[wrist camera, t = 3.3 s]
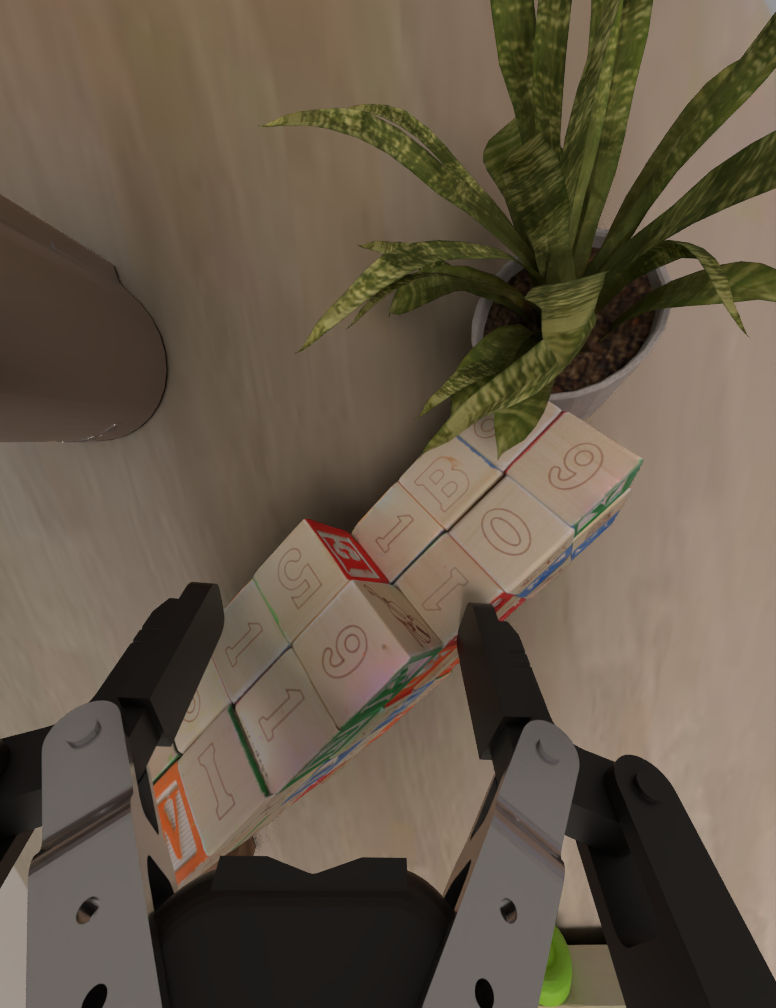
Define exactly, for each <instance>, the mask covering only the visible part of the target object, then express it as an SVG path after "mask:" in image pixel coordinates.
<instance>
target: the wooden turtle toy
mask: <svg viewBox="0 0 776 1008" xmlns="http://www.w3.org/2000/svg"><path fill="white" fill-rule="evenodd" d="M538 1008H626V1005H625V1002H624V999H623V995H622V992H621V989H620V985H619V982H618V979H617V975H616V972H615V969H614V966H613V962H612V959H611V956H610V952H609V949H608V946H607V945H567V944H566V941H565V939H564V937H563V935H562V934H561V932H560V931H559V929H558V928H557V927H556V926H555V927H554V932H553V937H552V941H551V946H550V951H549V956H548V961H547V966H546V971H545V975H544V980H543V985H542V990H541V995H540V1000H539V1005H538Z"/></svg>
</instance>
